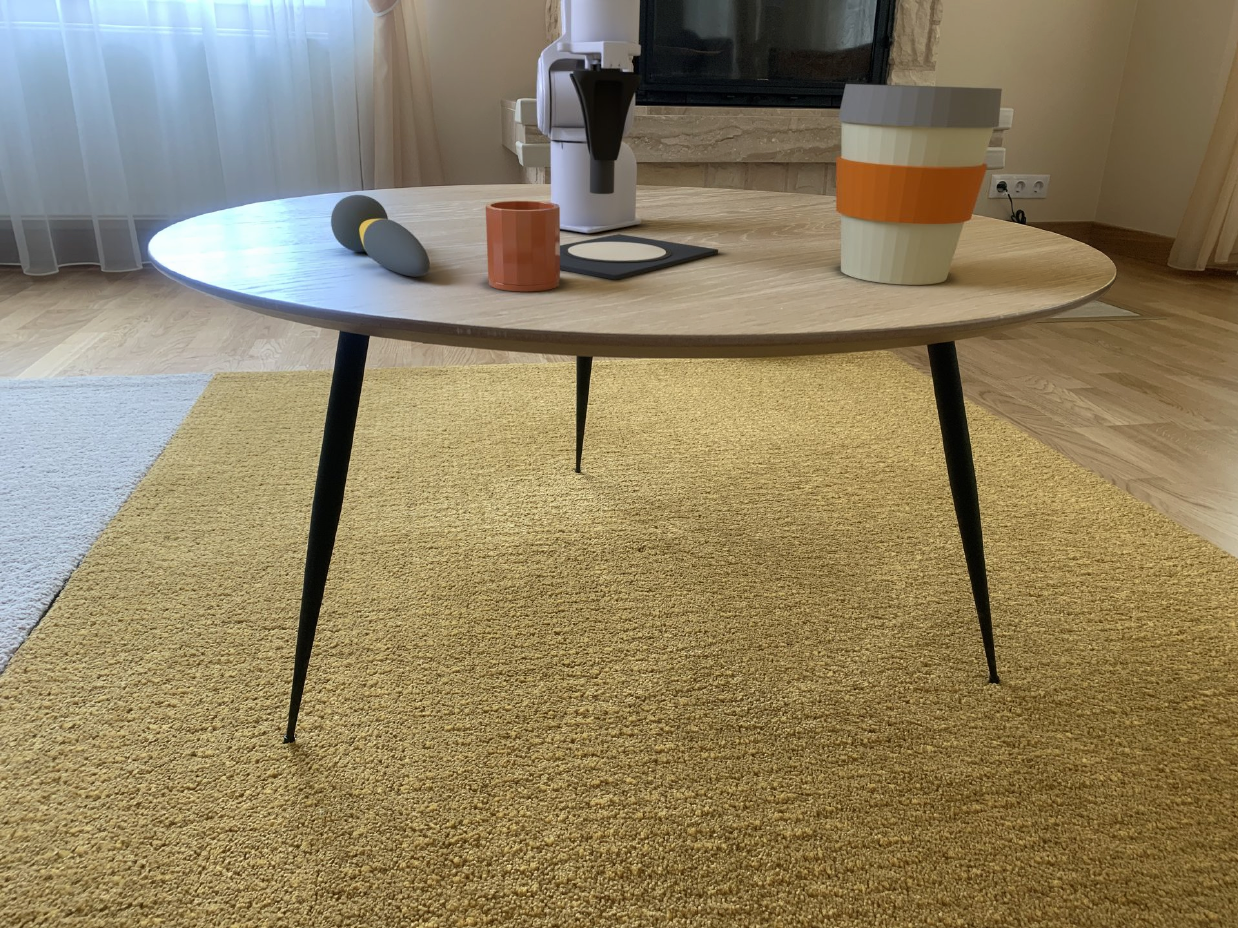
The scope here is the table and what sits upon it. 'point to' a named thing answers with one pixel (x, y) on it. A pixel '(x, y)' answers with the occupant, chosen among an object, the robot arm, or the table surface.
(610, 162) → the marker
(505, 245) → the pen pot
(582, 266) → the dark grey rectangular pad
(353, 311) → the table surface
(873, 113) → the reusable coffee cup
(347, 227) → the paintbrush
